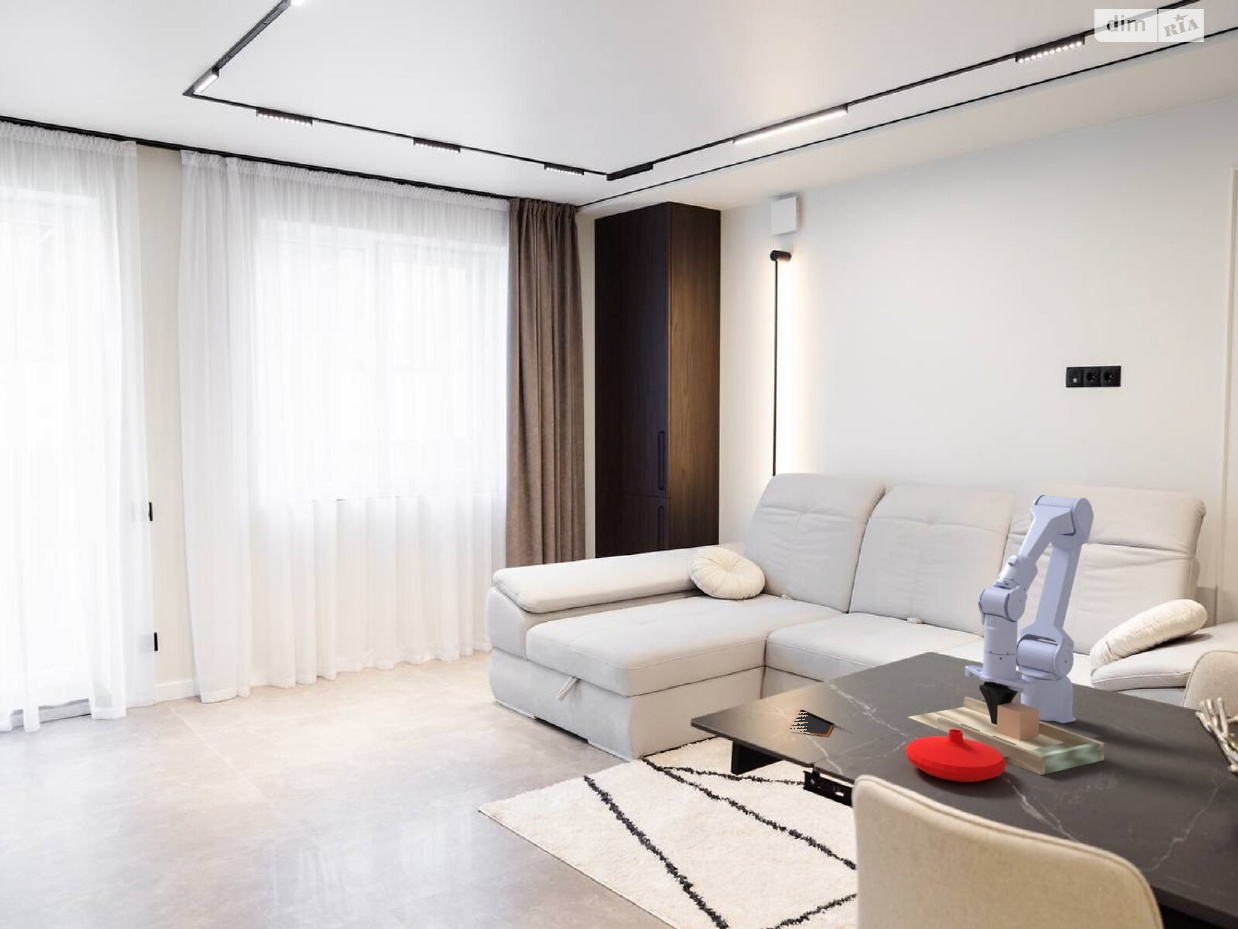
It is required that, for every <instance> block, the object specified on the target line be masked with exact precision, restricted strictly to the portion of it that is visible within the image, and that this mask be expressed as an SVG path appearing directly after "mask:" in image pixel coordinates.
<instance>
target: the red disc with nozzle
mask: <svg viewBox="0 0 1238 929" xmlns="http://www.w3.org/2000/svg"><path fill="white" fill-rule="evenodd" d="M947 734H948V735H947V736H944V735H943V736H942V735H940V736H939V735H937V736H933V735H932V736H924V737H923V736H922V737H920V738H916V739H914V740H912V741H911V742H910V743H908V745H907V746H905V749H904V751H905V754H906V757H907V760H908V761H909V763H910V764H912V765H913V766H914V767H915V768H917V769H918V770H919V769H920V770H921V771H922V772H925V773H926V774H928V775H930V776H933V777H935V778H937V779H942V780H947V781H952V782H961V783H965V782H966V783H975V782H982V781H984V780H989V779H993V778H996V777H998V776H1001V774H1002V773H1003V772H1004V770H1005V768H1006V766H1007V762H1006V760H1005V759H1004V757H1005V756H1004V755H1002V754H1001V753H1000V752H999V751H997V750H996V749H995V748H993V747H991V746H988V745H986V744H983V743H980V742H977V741H973V740H969V739H964V738H963V731H961V730H957V729H950V730H949V733H947Z"/></svg>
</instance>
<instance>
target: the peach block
mask: <svg viewBox="0 0 1238 929" xmlns="http://www.w3.org/2000/svg"><path fill="white" fill-rule="evenodd" d="M1039 712H1040V709H1037V708H1034V707H1031V706H1028V705H1025V704H1022V703H1021V702H1018V701H1012V702H1011V703H1007V704H1002V705H998V712H997V732H998V733H1001V734H1004V735H1006V736H1009V737H1011V738H1014V739H1017V740H1024V739H1029V738H1034V737H1039V721H1040V720H1039Z"/></svg>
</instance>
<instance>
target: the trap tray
mask: <svg viewBox="0 0 1238 929" xmlns="http://www.w3.org/2000/svg"><path fill="white" fill-rule="evenodd" d="M907 718H908V719H912V720H914V721H916V722H918V723H922V724H924V725H926V726H929V727H931V728H934V729H936V730H940V731H942V732H945V733H947V734H948V733H949V730H950V729H957V730H961V731H963V738H964V739H969V740H973V741H977V742H980V743H983V744H986V745H988V746H991V747H993V748H995V749H996V750H997V751H999V752H1000V753H1001V755H1002V756H1003V757H1004V759H1005V760H1006V763H1009V764H1011V765H1014V766H1017V767H1019V768H1022V769H1025V770H1026V771H1028V772H1031V773H1034V774H1036V775H1039V776H1043V775H1046V774H1052V773H1055V772H1059V771H1064V770H1069V769H1071V768H1075V767H1081V766H1084V765H1088V764H1094V763H1097V762H1101V761H1104V760H1105V742H1102V741H1099V740H1096V739H1093V738H1091V737H1088V736H1085V735H1082V734H1078V733H1076V732H1072V731H1070V730H1067V729H1065V728H1061V727H1058V726H1055V725H1053V724H1049V723H1046V722H1043V721H1042V720H1039V737H1034V738H1029V739H1024V740H1017V739H1014V738H1011V737H1009V736H1006V735H1004V734H1001V733H998V732H997V725H995V724H992V723H991V719H990V714H989V710H988V707H987V703H986V701H982V700H978V699H975V698H973V697H970V696H964V697H963V706H962V707H955V708H951V709H944V710H940V711H933V712H927V713H922V714H917V715H911V716H907Z"/></svg>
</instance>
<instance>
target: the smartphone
mask: <svg viewBox="0 0 1238 929" xmlns="http://www.w3.org/2000/svg"><path fill="white" fill-rule="evenodd" d="M800 710H801V709H800ZM800 710H799V712H807V713H804V714H803V713H801V714H800V713H799V712H798V713H799V714H798V713H797V715H808V716H806V717H805V716H804V717H802V716H801V717H798V718H796V717H795V718H796V719H801V720H799V721H794V720H793V722H808V723H804V724H801V725H800V724H799V723H798V724H797V725H792V724H791V725H790V726H805V727H804V728H802V727H801V728H799V727H798V728H797V729H807V730H806V731H805V730H804V731H803V732H809V733H811V734H814V735H817V736H816V737H822V736H825V737H824V738H828V737H829V736H830V734H831V732H832V731H833V728H834V725H835V722H832V721H829V720H827V719H826V718H823V717H821V716H819V715H816V714H814V713H811V712H809V711H807V710H805V709H803V710H801V711H800ZM802 719H805V720H802ZM806 726H807V727H806ZM789 728H790V727H789ZM790 729H792V728H790ZM794 729H795V728H794ZM800 732H802V731H800ZM814 735H813V736H814ZM827 736H828V737H827Z"/></svg>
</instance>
